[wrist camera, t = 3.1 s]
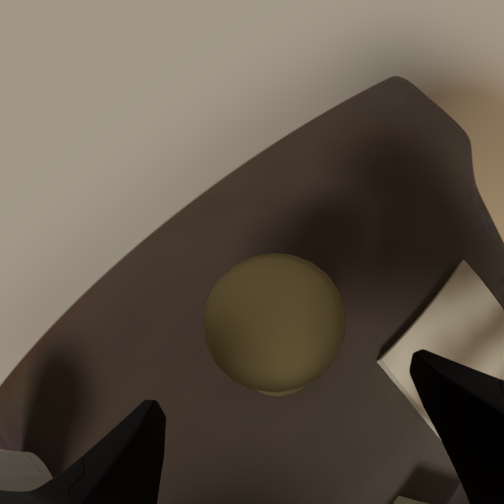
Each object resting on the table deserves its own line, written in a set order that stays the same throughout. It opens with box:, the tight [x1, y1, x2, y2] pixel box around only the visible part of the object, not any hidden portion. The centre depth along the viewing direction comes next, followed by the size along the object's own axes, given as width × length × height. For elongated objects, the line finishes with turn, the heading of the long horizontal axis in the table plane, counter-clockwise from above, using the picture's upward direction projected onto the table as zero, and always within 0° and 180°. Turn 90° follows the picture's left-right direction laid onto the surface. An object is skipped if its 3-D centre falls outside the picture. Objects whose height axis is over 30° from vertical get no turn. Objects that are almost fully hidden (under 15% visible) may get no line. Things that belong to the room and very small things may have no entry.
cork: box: [203, 253, 346, 396], centre depth 13 cm, size 6×6×11 cm
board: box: [377, 260, 504, 440], centre depth 15 cm, size 12×12×1 cm
